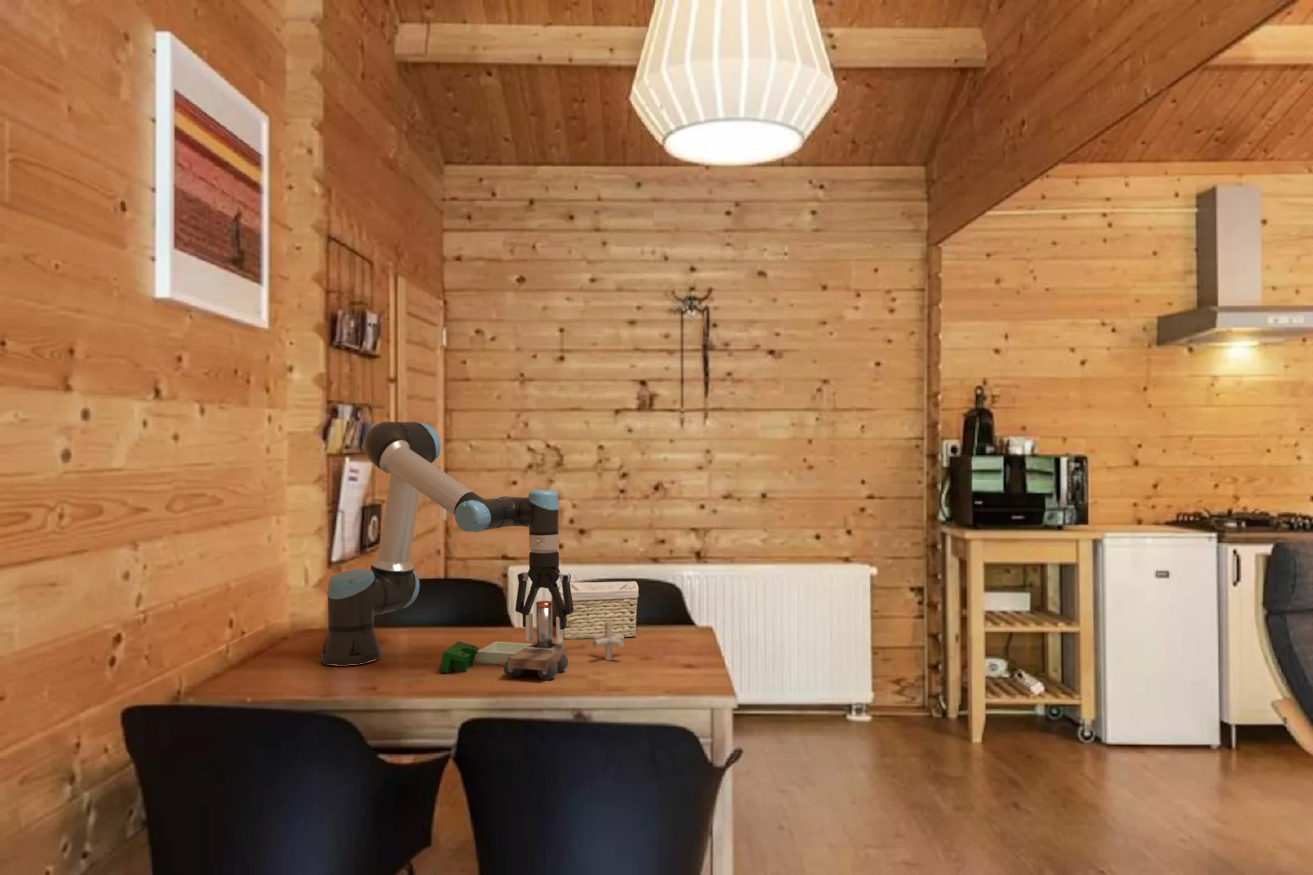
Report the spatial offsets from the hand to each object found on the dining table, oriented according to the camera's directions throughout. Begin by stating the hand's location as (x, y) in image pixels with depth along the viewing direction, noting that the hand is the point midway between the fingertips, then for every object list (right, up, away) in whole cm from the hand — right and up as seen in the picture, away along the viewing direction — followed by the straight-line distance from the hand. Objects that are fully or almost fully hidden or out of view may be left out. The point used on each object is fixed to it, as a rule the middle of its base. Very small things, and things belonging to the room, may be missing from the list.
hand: (544, 641), depth 218 cm
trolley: (-1, -8, -3) cm, 8 cm away
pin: (0, -2, 0) cm, 2 cm away
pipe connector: (+16, -8, +11) cm, 21 cm away
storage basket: (+11, -8, +43) cm, 45 cm away
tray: (-12, -8, +13) cm, 19 cm away
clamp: (-22, -8, +3) cm, 24 cm away
